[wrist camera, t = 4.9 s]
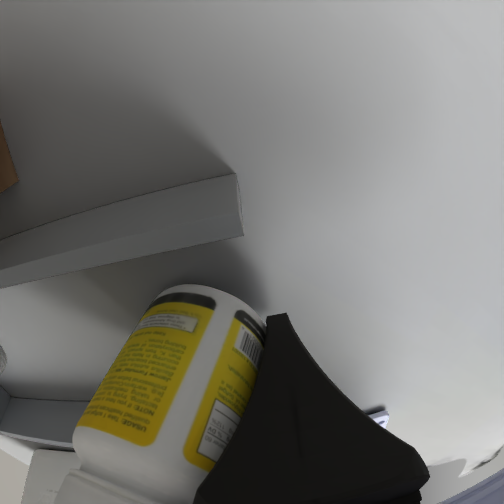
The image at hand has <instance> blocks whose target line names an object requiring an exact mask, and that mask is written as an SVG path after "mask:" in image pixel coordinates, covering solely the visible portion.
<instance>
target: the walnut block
mask: <svg viewBox="0 0 504 504" xmlns="http://www.w3.org/2000/svg"><path fill="white" fill-rule="evenodd" d="M18 181H19V179H18V176H17V173H16V171H15V168H14V165H13V162H12V159H11V156H10V152H9V149H8V146H7V143H6V139H5V136H4V132H3V129H2V125H1V121H0V193H1V192H3V191H4V190H6V189H7V188H9V187H10V186H12V185H13V184H15V183H16V182H18Z"/></svg>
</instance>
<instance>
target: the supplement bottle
mask: <svg viewBox="0 0 504 504" xmlns="http://www.w3.org/2000/svg"><path fill="white" fill-rule="evenodd" d="M265 338H266V326H265V324H264V322H263V321H262V319H261V318H260V316H259V315H258V314H257V313H256V312H255V311H254V310H253V309H252V308H251V307H250V306H248V305H247V304H246V303H244V302H243V301H241V300H240V299H238V298H236V297H235V296H233V295H231V294H228V293H226V292H224V291H221V290H218V289H215V288H212V287H208V286H204V285H197V284H183V285H178V286H174V287H171V288H168V289H166V290H165V291H163V292H162V293H160V294H159V295H158V296H157V297H156V298H155V299H154V301H153V302H152V303H151V305H150V306H149V308H148V309H147V311H146V312H145V314H144V315H143V317H142V318H141V320H140V322H139V323H138V325H137V326H136V328H135V329H134V331H133V332H132V334H131V336H130V337H129V339H128V340H127V342H126V344H125V345H124V347H123V348H122V350H121V351H120V353H119V355H118V356H117V358H116V360H115V361H114V363H113V364H112V366H111V368H110V369H109V371H108V373H107V374H106V376H105V378H104V379H103V381H102V383H101V384H100V386H99V388H98V389H97V391H96V393H95V394H94V396H93V398H92V400H91V401H90V403H89V405H88V406H87V408H86V410H85V411H84V413H83V415H82V417H81V418H80V420H79V421H78V423H77V425H76V428H75V430H74V433H73V438H72V442H73V448H74V450H75V452H76V454H77V456H78V457H79V458H80V460H81V467H80V469H79V470H78V469H74V468H70V469H69V474H67V475H66V476H65V478H64V481H63V483H62V485H61V487H60V489H59V492H58V494H57V496H56V498H55V500H54V504H193V501H194V497H195V494H196V491H197V488H198V487H199V486H200V484H201V483H202V482H203V480H204V479H205V478H206V476H207V475H208V474H209V472H210V471H211V469H212V468H213V467H214V465H215V464H216V462H217V461H218V459H219V458H220V456H221V454H222V453H223V451H224V449H225V448H226V446H227V444H228V443H229V441H230V439H231V437H232V436H233V434H234V432H235V430H236V428H237V426H238V424H239V422H240V419H241V417H242V415H243V413H244V411H245V408H246V406H247V403H248V401H249V398H250V396H251V393H252V390H253V387H254V384H255V381H256V378H257V374H258V371H259V367H260V364H261V359H262V354H263V350H264V344H265Z"/></svg>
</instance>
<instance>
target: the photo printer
mask: <svg viewBox="0 0 504 504" xmlns="http://www.w3.org/2000/svg"><path fill="white" fill-rule="evenodd" d="M80 467H81V460H80V458H79V457H78V456H77V454H76V452H64V451H53V450H43V449H37V450H35V452H34V454H33V456H32V460H31V463H30V467H29V471H28V475H27V479H26V483H25V487H24V492H23V496H22V501H21V504H54V500H55V498H56V496H57V494H58V492H59V489H60V487H61V485H62V483H63V481H64V478H65V476H66V475H67V474H69V469H70V468H74V469H78V470H79V469H80Z"/></svg>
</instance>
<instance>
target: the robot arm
mask: <svg viewBox="0 0 504 504" xmlns="http://www.w3.org/2000/svg"><path fill="white" fill-rule="evenodd" d="M266 324H267V326H266V338H265V344H264V350H263V354H262V359H261V364H260V367H259V371H258V374H257V378H256V381H255V384H254V387H253V390H252V393H251V396H250V398H249V401H248V403H247V406H246V408H245V411H244V413H243V415H242V417H241V419H240V422H239V424H238V426H237V428H236V430H235V432H234V434H233V436H232V437H231V439H230V441H229V443H228V444H227V446H226V448H225V449H224V451H223V453H222V454H221V456H220V458H219V459H218V461H217V462H216V464H215V465H214V467H213V468H212V469H211V471H210V472H209V474H208V475H207V476H206V478H205V479H204V480H203V482H202V483H201V484H200V486H199V487H198V488H197V491H196V494H195V497H194V501H193V504H420V501H421V500H422V497H421V494H420V491H419V489H420V488H421V487H422V486H423V485H424V484H425V483H426V482H427V481H428V480H429V478H430V475H429V471H428V469H427V467H426V465H425V463H424V461H423V460H422V458H421V456H420V455H419V454H418V452H417V451H416V450H415V448H414V447H412V446H411V445H409V444H407V443H406V442H404V441H402V440H401V439H399V438H398V437H396V436H395V435H393V434H392V433H390V432H389V431H387V430H386V429H385V428H386V425H387V422H388V419H389V414H388V412H387V411H381V412H378V413H374V414H371V415H367V414H365V413H364V412H363V411H362V410H361V409H359V408H358V407H357V406H356V405H355V404H354V403H353V402H352V401H351V400H350V399H348V398H347V397H346V396H345V395H344V394H343V393H342V392H341V391H340V390H339V389H338V388H337V386H336V385H335V384H334V383H333V382H332V381H331V380H330V379H329V378H328V376H327V375H326V374H325V373H324V372H323V370H322V369H321V368H320V367H319V366H318V364H317V363H316V362H315V360H314V359H313V358H312V356H311V355H310V353H309V352H308V351H307V349H306V348H305V346H304V345H303V343H302V342H301V340H300V339H299V337H298V335H297V334H296V332H295V330H294V328H293V326H292V324H291V322H290V320H289V317H288V315H287V313H282V314H277V315H272V316H267V319H266ZM438 504H504V468H503V469H502V470H500V471H498V472H497V473H495V474H493V475H492V476H490V477H488V478H487V479H485V480H483V481H481V482H480V483H478V484H476V485H474V486H472V487H471V488H468V489H467V490H465V491H463V492H461V493H459V494H457V495H455V496H453V497H451V498H449V499H446V500H444V501H442V502H440V503H438Z"/></svg>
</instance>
